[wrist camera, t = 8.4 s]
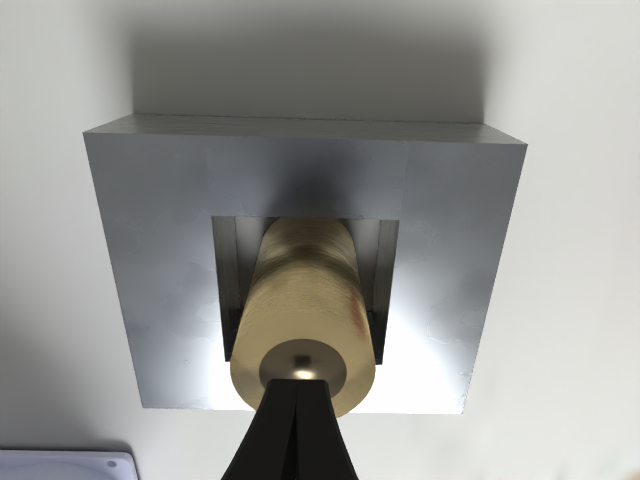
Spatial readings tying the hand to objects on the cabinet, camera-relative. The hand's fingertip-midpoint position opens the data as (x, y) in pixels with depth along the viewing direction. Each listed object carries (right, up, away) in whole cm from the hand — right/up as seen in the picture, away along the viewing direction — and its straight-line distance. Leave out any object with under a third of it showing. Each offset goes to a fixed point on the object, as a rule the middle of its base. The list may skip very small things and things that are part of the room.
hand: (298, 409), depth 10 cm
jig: (0, +4, +8) cm, 8 cm away
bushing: (0, +4, +8) cm, 8 cm away
